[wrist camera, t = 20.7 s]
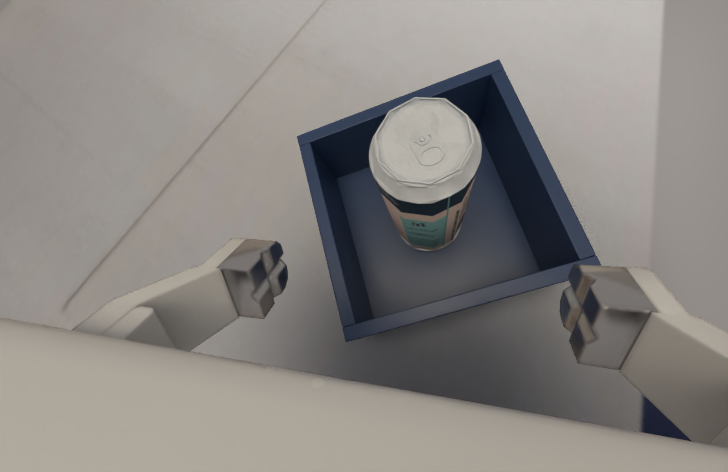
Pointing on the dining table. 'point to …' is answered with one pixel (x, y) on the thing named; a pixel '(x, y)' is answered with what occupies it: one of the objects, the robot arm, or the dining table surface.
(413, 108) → the coffee can
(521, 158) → the bin
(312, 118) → the dining table surface
